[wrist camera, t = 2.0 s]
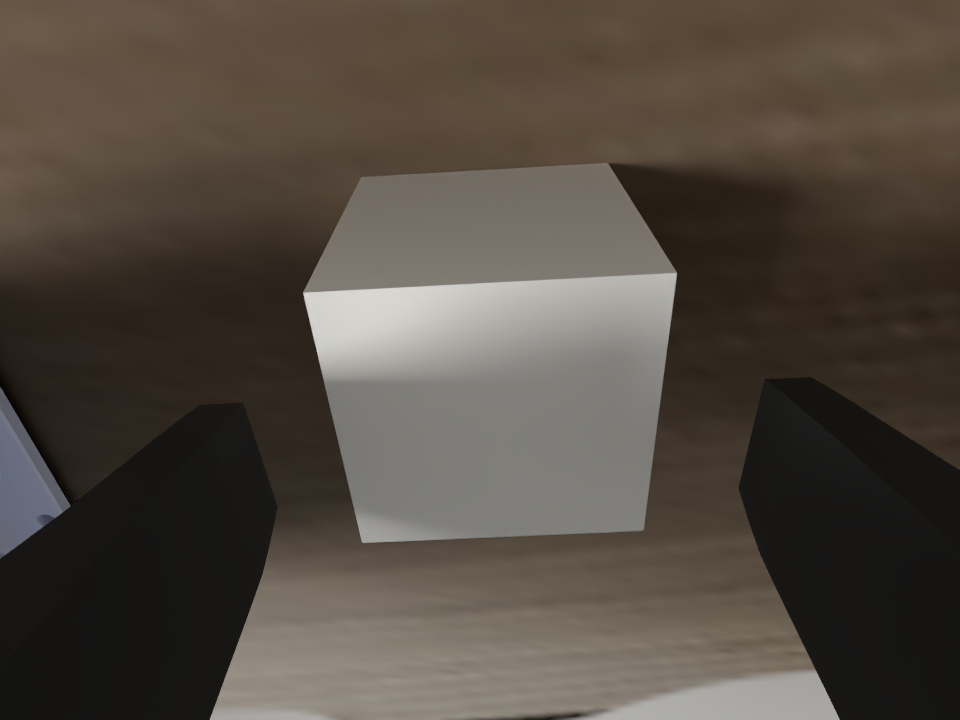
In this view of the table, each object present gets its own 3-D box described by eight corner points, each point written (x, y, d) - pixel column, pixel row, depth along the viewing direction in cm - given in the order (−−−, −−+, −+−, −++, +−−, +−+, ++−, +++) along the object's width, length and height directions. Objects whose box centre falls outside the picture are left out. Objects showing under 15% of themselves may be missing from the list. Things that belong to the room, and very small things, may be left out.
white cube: (595, 366, 15) (643, 530, 11) (393, 376, 15) (362, 543, 11) (607, 161, 12) (677, 272, 8) (361, 176, 12) (303, 292, 8)
